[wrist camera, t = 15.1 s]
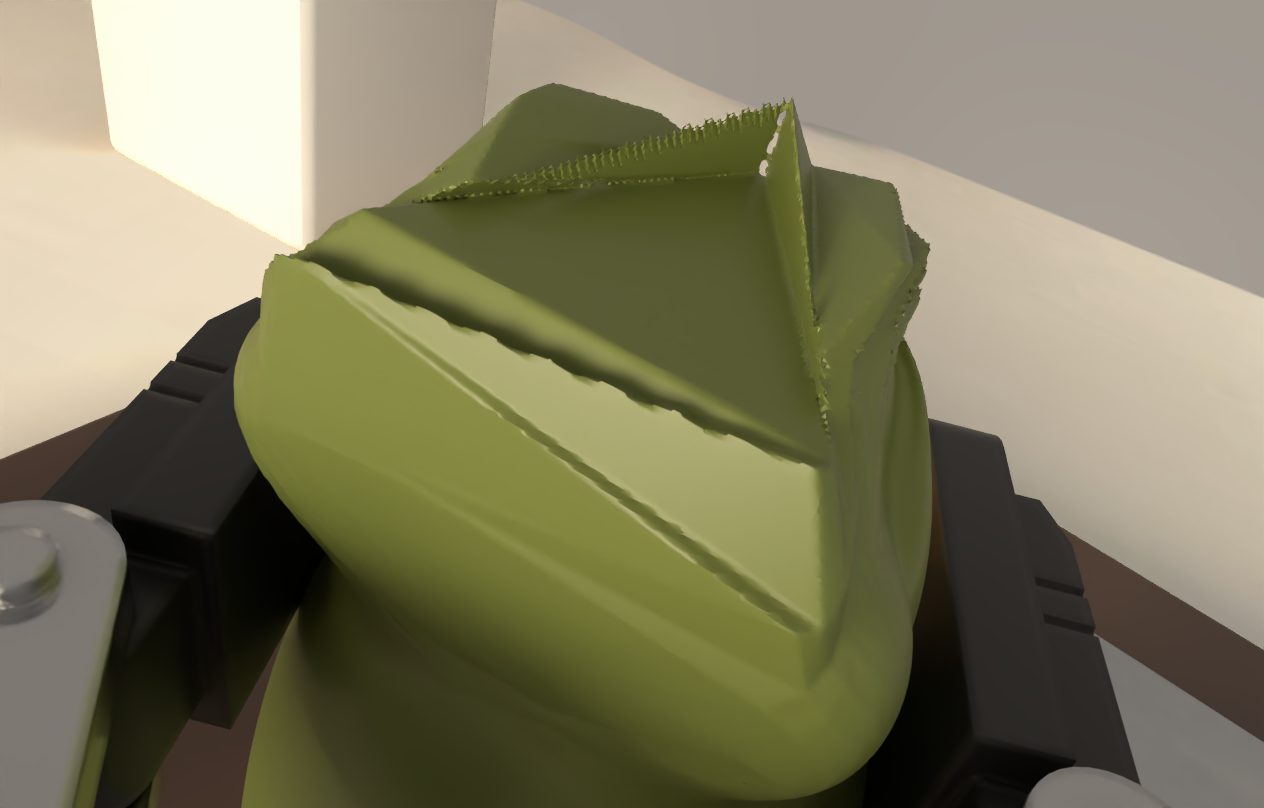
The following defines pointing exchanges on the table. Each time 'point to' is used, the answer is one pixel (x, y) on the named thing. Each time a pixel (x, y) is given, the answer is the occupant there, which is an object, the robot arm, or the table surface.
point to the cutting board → (1118, 597)
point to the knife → (1184, 741)
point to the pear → (595, 474)
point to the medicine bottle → (293, 99)
